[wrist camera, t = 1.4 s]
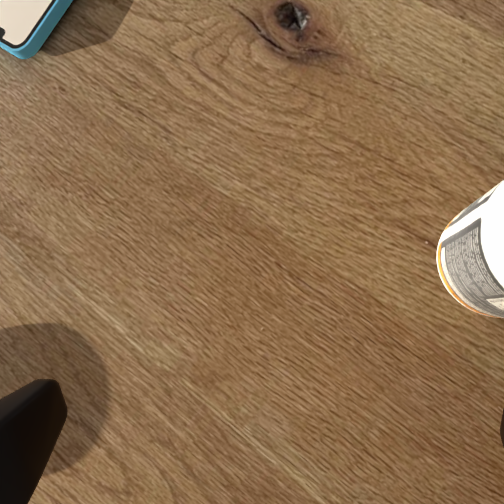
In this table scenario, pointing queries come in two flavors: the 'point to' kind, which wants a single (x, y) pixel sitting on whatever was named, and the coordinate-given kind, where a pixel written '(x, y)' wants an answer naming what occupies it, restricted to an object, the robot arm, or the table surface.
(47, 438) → the robot arm
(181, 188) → the table surface
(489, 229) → the pill bottle
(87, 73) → the table surface
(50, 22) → the smartphone
